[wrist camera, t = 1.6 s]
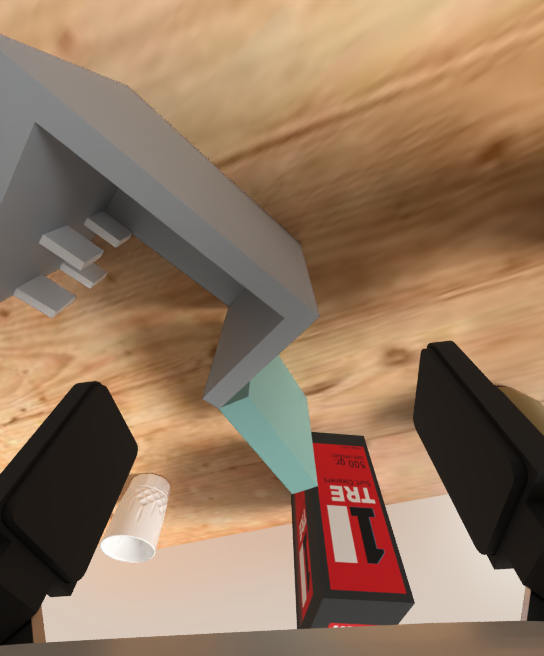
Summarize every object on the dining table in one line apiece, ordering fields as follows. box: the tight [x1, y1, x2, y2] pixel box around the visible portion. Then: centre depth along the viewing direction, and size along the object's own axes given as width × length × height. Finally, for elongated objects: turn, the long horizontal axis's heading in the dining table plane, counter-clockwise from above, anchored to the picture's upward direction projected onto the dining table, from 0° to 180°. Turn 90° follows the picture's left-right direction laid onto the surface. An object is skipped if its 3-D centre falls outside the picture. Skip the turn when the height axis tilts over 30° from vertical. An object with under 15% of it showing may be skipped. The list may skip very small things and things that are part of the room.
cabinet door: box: [219, 355, 318, 494], centre depth 35 cm, size 14×4×13 cm, turn 29°
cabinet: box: [0, 34, 320, 409], centre depth 26 cm, size 20×16×16 cm
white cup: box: [100, 473, 170, 563], centre depth 49 cm, size 8×8×10 cm
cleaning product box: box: [291, 432, 414, 629], centre depth 43 cm, size 16×9×20 cm, turn 174°
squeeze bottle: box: [498, 387, 544, 435], centre depth 36 cm, size 8×8×18 cm
